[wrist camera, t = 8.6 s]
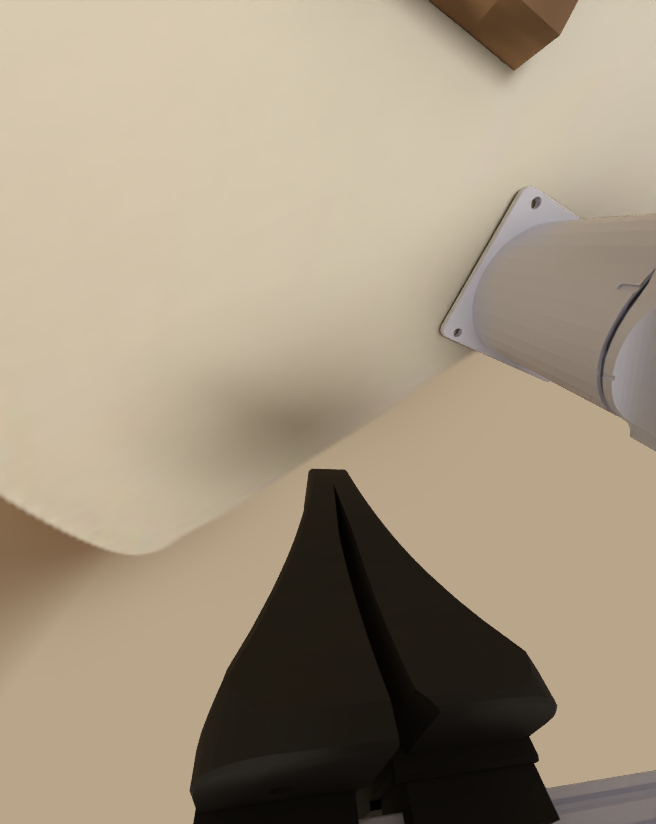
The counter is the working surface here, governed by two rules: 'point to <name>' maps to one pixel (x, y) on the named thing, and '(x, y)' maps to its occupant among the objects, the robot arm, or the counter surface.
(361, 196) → the counter surface
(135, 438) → the counter surface
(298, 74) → the counter surface
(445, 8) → the keypad board
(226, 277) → the counter surface
